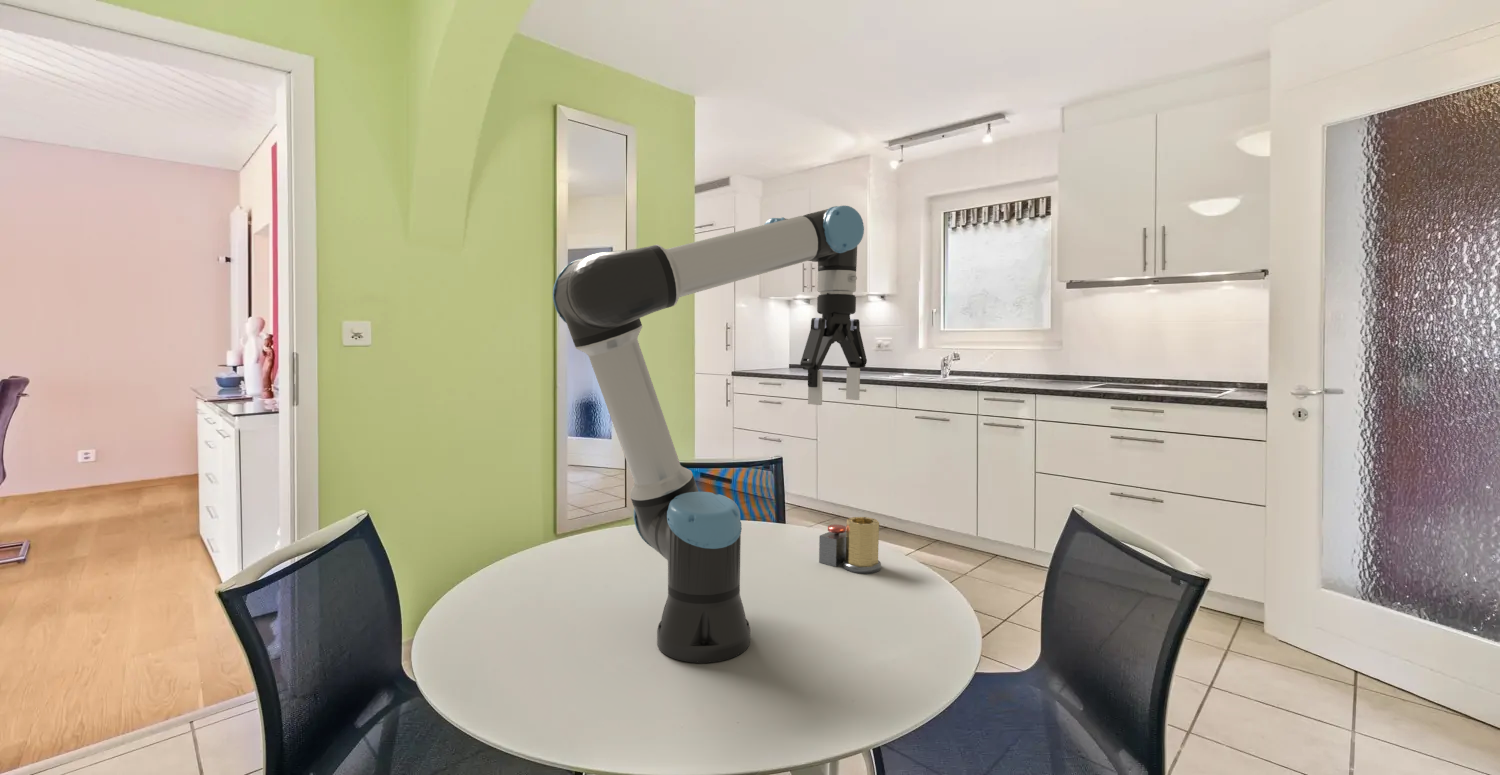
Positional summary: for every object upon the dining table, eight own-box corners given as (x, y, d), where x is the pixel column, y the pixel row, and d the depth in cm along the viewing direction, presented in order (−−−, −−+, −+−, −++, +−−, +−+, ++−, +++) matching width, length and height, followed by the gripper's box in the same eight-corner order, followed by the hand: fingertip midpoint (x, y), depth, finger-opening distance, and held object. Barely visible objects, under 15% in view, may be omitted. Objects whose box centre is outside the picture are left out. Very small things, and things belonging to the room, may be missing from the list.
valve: (868, 576, 141) (869, 537, 141) (817, 562, 150) (818, 526, 149) (887, 566, 148) (888, 529, 147) (837, 554, 156) (838, 518, 155)
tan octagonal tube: (867, 569, 142) (868, 526, 142) (841, 562, 147) (841, 521, 146) (882, 561, 147) (883, 520, 147) (856, 555, 151) (857, 515, 151)
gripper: (816, 289, 121) (814, 408, 123) (885, 296, 140) (882, 398, 142) (782, 291, 126) (781, 405, 128) (853, 297, 145) (851, 396, 147)
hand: (834, 402), depth 135 cm, fingers open, 13 cm apart
